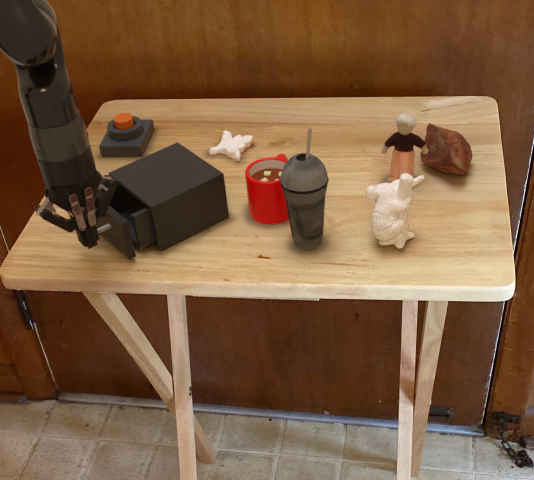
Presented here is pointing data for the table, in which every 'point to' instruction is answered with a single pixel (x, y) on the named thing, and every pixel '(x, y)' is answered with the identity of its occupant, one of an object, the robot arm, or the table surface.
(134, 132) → the control block
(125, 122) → the button
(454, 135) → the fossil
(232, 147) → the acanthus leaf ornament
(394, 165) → the grandmother figurine
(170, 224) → the cabinet
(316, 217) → the beverage cup
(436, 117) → the table surface
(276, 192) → the mug
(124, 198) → the drawer
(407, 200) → the white rabbit figurine
